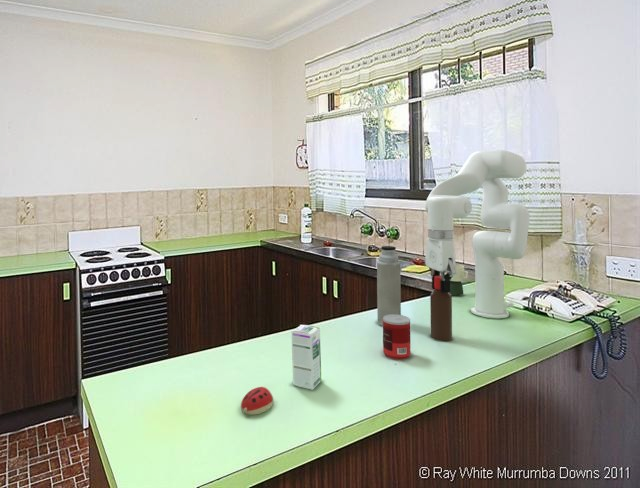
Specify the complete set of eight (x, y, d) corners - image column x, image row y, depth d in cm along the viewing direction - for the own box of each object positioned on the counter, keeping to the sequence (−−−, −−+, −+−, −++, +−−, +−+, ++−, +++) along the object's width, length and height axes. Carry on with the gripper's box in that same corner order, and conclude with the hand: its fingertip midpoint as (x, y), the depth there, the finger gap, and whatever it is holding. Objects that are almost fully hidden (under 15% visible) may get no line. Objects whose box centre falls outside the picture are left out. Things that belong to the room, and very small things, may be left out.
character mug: (472, 295, 191) (471, 266, 191) (464, 299, 187) (463, 268, 187) (447, 291, 200) (447, 262, 200) (439, 293, 196) (439, 264, 195)
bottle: (442, 333, 149) (442, 275, 148) (456, 339, 143) (456, 280, 142) (426, 335, 147) (426, 277, 146) (440, 342, 141) (439, 281, 140)
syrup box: (313, 390, 111) (312, 334, 111) (292, 385, 114) (291, 329, 114) (321, 381, 116) (320, 327, 116) (301, 376, 119) (300, 323, 119)
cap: (431, 287, 146) (431, 275, 146) (442, 286, 147) (442, 275, 146) (439, 290, 142) (438, 278, 142) (450, 289, 143) (450, 278, 143)
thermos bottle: (375, 319, 163) (374, 244, 162) (397, 320, 163) (396, 244, 162) (380, 327, 155) (379, 248, 154) (403, 327, 155) (402, 248, 154)
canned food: (414, 353, 132) (414, 317, 132) (403, 362, 127) (403, 324, 126) (390, 347, 138) (389, 312, 137) (378, 355, 132) (378, 319, 131)
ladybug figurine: (279, 401, 106) (279, 387, 106) (258, 421, 98) (258, 405, 98) (255, 394, 110) (255, 380, 110) (233, 412, 102) (233, 397, 102)
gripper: (415, 232, 151) (416, 285, 152) (446, 239, 135) (446, 298, 136) (435, 231, 153) (436, 283, 153) (468, 238, 136) (468, 296, 137)
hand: (440, 289), depth 144 cm, fingers closed on cap, 3 cm apart
